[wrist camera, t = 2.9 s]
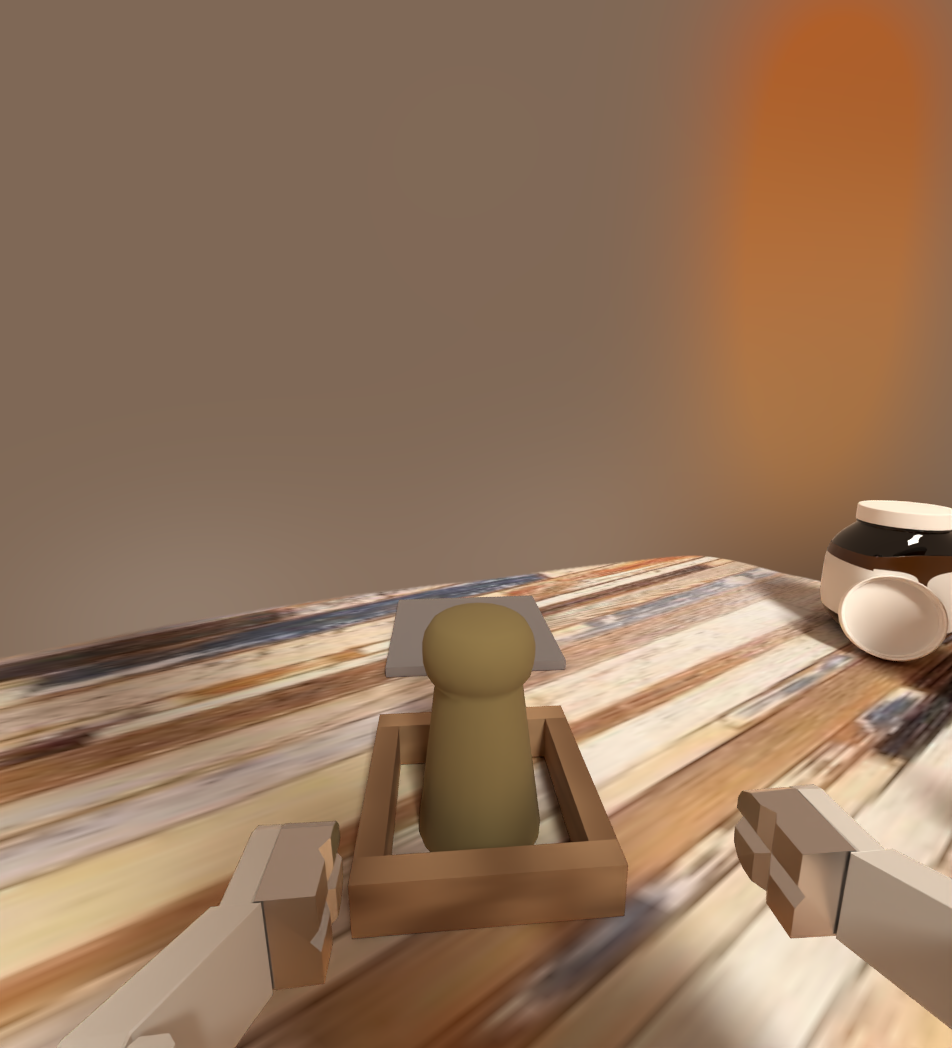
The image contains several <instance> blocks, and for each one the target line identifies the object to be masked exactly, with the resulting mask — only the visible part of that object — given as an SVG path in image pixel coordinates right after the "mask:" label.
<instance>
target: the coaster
mask: <svg viewBox="0 0 952 1048" xmlns="http://www.w3.org/2000/svg"><path fill="white" fill-rule="evenodd" d="M466 603H492V604H497V605H502V606H505V607H507V608H510V609H512V610H514V611H516V612H518V613H519V614H520V615H522V616H523V617H524V618H525V620H526V621H527V623H528V624H529V626H530V628H531V630H532V632H533V635H534V639H535V644H536V648H535V660H534V665H533V668H532V671H538V670H561V669H565V664H566V660H565V658H564V656H563V654H562V652H561V650H560V648H559V646H558V644H557V643H556V641H555V639H554V637H553V635H552V633H551V631H550V629H549V627H548V625H547V623H546V621H545V620H544V618H543V616H542V614H541V612H540V610H539V608H538V606H537V604H536V602H535V600H534V598H533V597H532V596H507V597H476V598H445V599H414V600H399V603H398V608H397V613H396V618H395V623H394V628H393V633H392V638H391V643H390V648H389V653H388V658H387V663H386V677H402V676H425V675H427V674H426V671H425V668H424V664H423V655H422V641H423V637H424V632H425V630H426V628H427V627H428V625H429V623H430V622H431V620H432V619H433V618H434V616H435V615H437V614H439V613H440V612H442V611H444V610H445V609H447V608H450V607H453V606H456V605H461V604H466Z"/></svg>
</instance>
